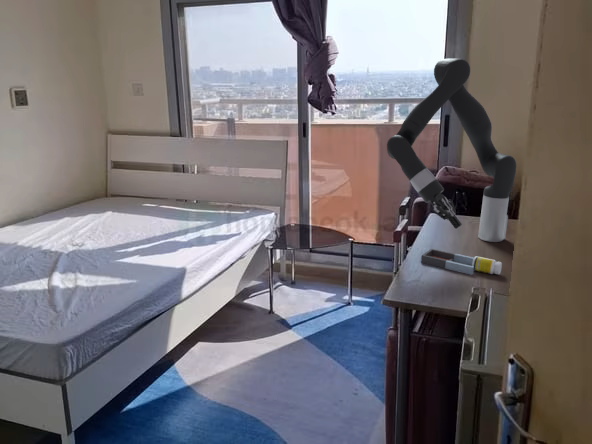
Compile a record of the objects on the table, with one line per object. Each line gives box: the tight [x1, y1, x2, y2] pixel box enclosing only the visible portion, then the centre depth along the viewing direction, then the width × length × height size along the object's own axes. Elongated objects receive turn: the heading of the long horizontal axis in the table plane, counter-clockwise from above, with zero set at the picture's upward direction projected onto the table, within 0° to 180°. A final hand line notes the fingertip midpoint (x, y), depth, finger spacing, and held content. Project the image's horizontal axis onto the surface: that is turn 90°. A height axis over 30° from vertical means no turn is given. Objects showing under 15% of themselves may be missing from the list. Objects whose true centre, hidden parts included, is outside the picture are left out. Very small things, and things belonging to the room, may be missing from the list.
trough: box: [444, 253, 475, 276], centre depth 171 cm, size 9×9×2 cm
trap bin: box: [420, 248, 455, 269], centre depth 176 cm, size 9×9×2 cm
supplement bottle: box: [471, 255, 503, 275], centre depth 167 cm, size 5×5×8 cm
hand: (458, 226), depth 169 cm, fingers closed
